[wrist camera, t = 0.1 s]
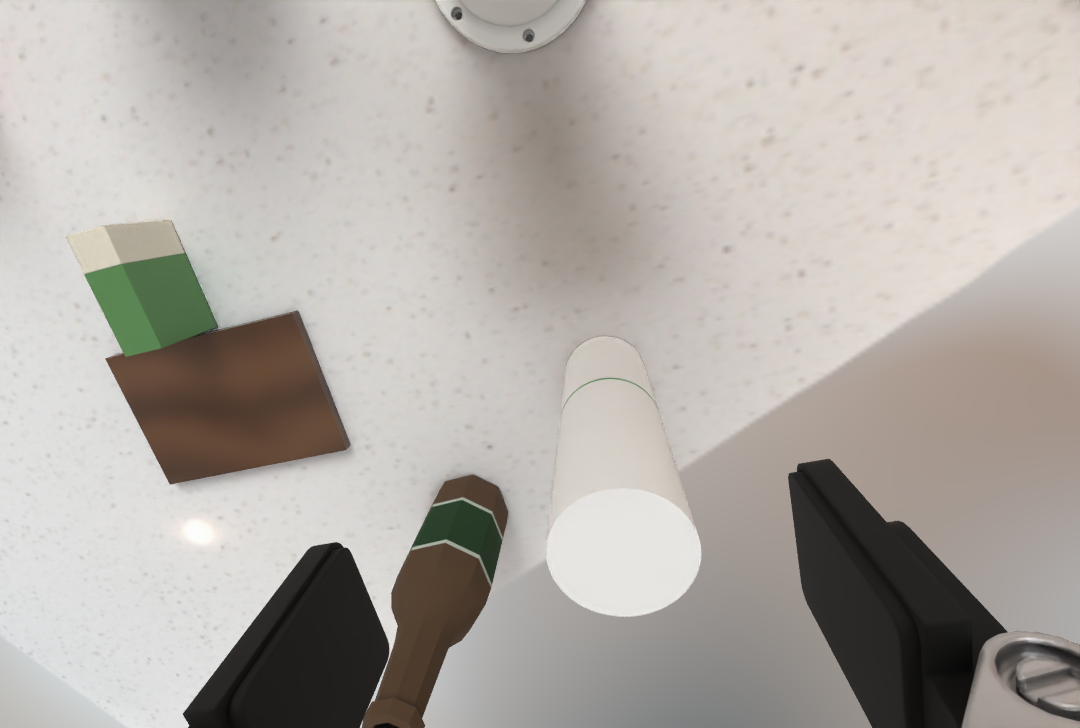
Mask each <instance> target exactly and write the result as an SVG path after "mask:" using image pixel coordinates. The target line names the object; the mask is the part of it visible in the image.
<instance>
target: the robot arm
mask: <svg viewBox="0 0 1080 728" xmlns="http://www.w3.org/2000/svg"><path fill="white" fill-rule="evenodd" d="M435 1H436V3H437V5H438V7H439V8H440V10H441V12H442V13H443V15H444V16H445V17H446V19H447V20H448V21H449V22H450V23H451V24H452V26H453V27H454V28H455V29H456V30H457V31H458V32H459V33H460V34H461V35H463V36H464V37H465V38H467V39H468V40H470V41H471V42H473V43H474V44H476V45H478V46H481V47H483V48H485V49H488V50H490V51H496V52H501V53H522V52H526V51H530V50H534V49H537V48H539V47H541V46H544V45H546V44H548V43H550V42H551V41H553V40H554V39H555V38H557V37H558V36H559V35H561V34H562V33H563V32H564V31H565V30H566V29H567V28H568V27H569V26H570V25H571V24H572V23H573V21H574V20H575V19H576V18H577V16H578V15H579V13H580V11H581V10H582V8H583V7H584V5H585V3H586V1H587V0H435ZM459 13H461V14H462V18H461V19H460V20H457V19H456V16H457V14H459ZM528 35H532V36H533V39H532V41H530V42H528V41H527V40H526V38H527V36H528ZM788 479H789V488H790V496H791V504H792V512H793V520H794V528H795V537H796V544H797V553H798V561H799V569H800V576H801V584H802V589H803V593H804V596H805V599H806V601H807V604H808V606H809V608H810V610H811V611H812V614H813V616H814V618H815V619H816V621H817V623H818V625H819V627H820V629H821V631H822V633H823V635H824V636H825V638H826V640H827V642H828V644H829V646H830V648H831V650H832V652H833V654H834V656H835V657H836V659H837V661H838V663H839V665H840V667H841V669H842V671H843V673H844V674H845V676H846V678H847V680H848V682H849V684H850V686H851V688H852V690H853V691H854V693H855V695H856V697H857V699H858V701H859V703H860V705H861V707H862V709H863V711H864V712H865V714H866V716H867V718H868V720H869V722H870V724H871V726H872V728H1080V645H1079V644H1077V643H1074V642H1071V641H1069V640H1066V639H1064V638H1061V637H1057V636H1053V635H1048V634H1043V633H1039V632H1027V631H1013V632H1007V631H1006V630H1005V629H1004V628H1003V626H1002V625H1001V624H1000V623H999V622H998V621H997V620H996V619H995V618H994V617H993V616H992V615H991V614H990V613H989V612H988V611H987V609H985V608H984V606H983V605H982V604H981V603H980V602H979V601H978V600H977V599H976V598H975V597H974V596H973V595H972V594H971V593H970V591H969V590H967V588H966V587H965V586H964V585H963V584H962V583H961V582H960V581H959V580H958V579H957V578H956V577H955V575H954V574H953V573H952V572H951V571H950V570H949V569H948V568H947V567H946V566H945V565H944V564H943V563H942V562H941V561H940V560H939V558H938V557H937V556H936V555H935V554H934V553H933V552H932V551H931V550H930V549H929V548H928V547H927V546H926V545H925V544H924V543H923V541H922V540H921V539H920V538H919V537H918V536H917V535H916V534H915V533H914V532H913V531H912V530H911V529H910V528H909V527H908V526H907V525H906V524H904V523H903V522H900V521H894V522H886V521H885V520H884V519H883V518H882V517H881V515H880V514H879V513H878V512H877V511H876V510H875V509H874V508H873V506H872V505H871V504H870V503H869V502H868V501H867V500H866V499H865V497H864V496H863V495H862V494H861V493H860V492H859V491H858V490H857V488H856V487H855V486H854V485H853V484H852V483H851V482H850V481H849V479H848V478H847V477H846V476H845V475H844V474H843V473H842V471H841V470H840V469H839V468H838V467H837V466H836V465H835V464H834V463H833V461H831V460H830V459H825V460H819V461H813V462H807V463H801V464H798V466H797V472H794V473H790V474H789V476H788ZM388 657H389V643H388V639H387V637H386V635H385V632H384V630H383V627H382V625H381V623H380V620H379V618H378V616H377V613H376V611H375V608H374V606H373V604H372V601H371V599H370V597H369V594H368V592H367V589H366V587H365V585H364V582H363V580H362V577H361V575H360V573H359V570H358V568H357V566H356V563H355V561H354V558H353V556H352V554H351V552H350V550H349V549H348V548H343V546H342V545H341V544H340V543H337V542H335V543H329V544H323V545H317V546H313V547H311V548H309V549H308V550H307V552H306V553H305V554H304V556H303V557H302V558H301V560H300V561H299V562H298V564H297V565H296V566H295V567H294V569H293V570H292V571H291V573H290V574H289V575H288V577H287V578H286V579H285V581H284V582H283V583H282V585H281V586H280V587H279V588H278V590H277V591H276V592H275V594H274V595H273V596H272V598H271V599H270V600H269V602H268V603H267V604H266V606H265V607H264V608H263V609H262V611H261V612H260V613H259V615H258V616H257V617H256V619H255V620H254V621H253V623H252V624H251V625H250V626H249V628H248V629H247V630H246V632H245V633H244V634H243V636H242V637H241V638H240V640H239V641H238V642H237V644H236V645H235V646H234V647H233V649H232V650H231V651H230V653H229V654H228V655H227V657H226V658H225V659H224V661H223V662H222V663H221V665H220V666H219V667H218V668H217V670H216V671H215V672H214V674H213V675H212V676H211V678H210V679H209V680H208V682H207V683H206V684H205V686H204V687H203V688H202V689H201V691H200V692H199V693H198V695H197V696H196V697H195V699H194V700H193V701H192V703H191V704H190V705H189V707H188V708H187V709H186V710H185V712H184V713H183V715H184V717H185V719H186V721H187V722H188V724H189V727H188V728H360V725H361V723H362V720H363V718H364V716H365V713H366V711H367V708H368V706H369V704H370V701H371V699H372V696H373V694H374V691H375V689H376V687H377V684H378V682H379V679H380V677H381V675H382V673H383V670H384V668H385V665H386V663H387V660H388Z"/></svg>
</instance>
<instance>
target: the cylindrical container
mask: <svg viewBox="0 0 1080 728" xmlns="http://www.w3.org/2000/svg"><path fill="white" fill-rule="evenodd" d="M546 558H547V564H548V568H549V570H550V572H551V575H552V578H553V579H554V580H555V582H556V583H557V585H558V586H559V588H560V589H561V590H562V591H563V592H564V593H565V594H566V595H567V596H568V597H569V598H570V599H572V600H573V601H575V602H576V603H578V604H579V605H581V606H582V607H585V608H587V609H590V610H592V611H594V612H597V613H601V614H605V615H610V616H620V617H628V616H639V615H644V614H649V613H652V612H655V611H657V610H660V609H663V608H665V607H666V606H668V605H670V604H671V603H673V602H675V601H676V600H677V599H678V598H679V597H681V596H682V595H683V594H684V593H685V592H686V591H687V590H688V588H689V587H690V586H691V584H692V583H693V581H694V580H695V577H696V575H697V573H698V570H699V567H700V561H701V544H700V540H699V537H698V534H697V530H696V527H695V524H694V521H693V518H692V515H691V511H690V508H689V505H688V502H687V499H686V496H685V493H684V489H683V486H682V483H681V480H680V477H679V474H678V470H677V467H676V464H675V461H674V458H673V455H672V451H671V448H670V445H669V442H668V439H667V436H666V433H665V429H664V426H663V423H662V420H661V417H660V414H659V411H658V407H657V404H656V401H655V398H654V395H653V392H652V389H651V386H650V382H649V379H648V376H647V373H646V370H645V367H644V364H643V361H642V358H641V357H640V355H639V353H638V352H637V351H636V349H635V348H634V347H633V346H632V345H630V344H629V343H627V342H626V341H624V340H622V339H619V338H615V337H610V336H601V337H595V338H592V339H589V340H587V341H585V342H583V343H582V344H581V345H579V346H578V347H577V348H576V349H575V350H574V351H573V353H572V354H571V356H570V358H569V360H568V362H567V366H566V371H565V380H564V389H563V398H562V407H561V416H560V425H559V434H558V443H557V452H556V461H555V471H554V480H553V489H552V498H551V507H550V516H549V525H548V534H547V543H546Z"/></svg>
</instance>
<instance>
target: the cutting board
mask: <svg viewBox="0 0 1080 728" xmlns="http://www.w3.org/2000/svg"><path fill="white" fill-rule="evenodd" d="M106 361H107V363H108V365H109V367H110V369H111V371H112V373H113V375H114V377H115V379H116V381H117V382H118V384H119V386H120V388H121V390H122V392H123V394H124V396H125V398H126V400H127V402H128V404H129V406H130V408H131V410H132V412H133V414H134V416H135V417H136V419H137V421H138V423H139V425H140V427H141V429H142V431H143V433H144V435H145V437H146V439H147V441H148V443H149V445H150V447H151V449H152V451H153V452H154V454H155V456H156V458H157V460H158V462H159V464H160V466H161V468H162V470H163V472H164V474H165V476H166V478H167V480H168V482H169V484H175V483H180V482H185V481H190V480H195V479H200V478H205V477H210V476H216V475H221V474H226V473H231V472H236V471H241V470H246V469H251V468H256V467H261V466H266V465H272V464H277V463H282V462H287V461H292V460H297V459H302V458H307V457H312V456H317V455H322V454H327V453H333V452H338V451H343V450H347V448H348V447H349V446H350V443H349V440H348V438H347V435H346V432H345V430H344V427H343V425H342V422H341V420H340V417H339V415H338V412H337V409H336V407H335V404H334V402H333V399H332V397H331V394H330V392H329V389H328V386H327V384H326V381H325V379H324V376H323V374H322V371H321V368H320V366H319V363H318V361H317V358H316V356H315V353H314V351H313V348H312V345H311V343H310V340H309V338H308V335H307V333H306V330H305V327H304V325H303V322H302V320H301V317H300V315H299V312H298V311H294V312H290V313H286V314H282V315H278V316H274V317H270V318H266V319H261V320H257V321H253V322H249V323H245V324H241V325H237V326H233V327H229V328H225V329H220V330H216V331H212V332H208V333H204V334H200V335H196V336H192V337H190V338H187V339H185V340H182V341H179V342H177V343H174V344H172V345H169V346H167V347H164V348H161V349H157V350H153V351H149V352H145V353H140V354H136V355H132V356H128V357H125V355H124V353H122V354H118V355H114V356H111V357H108V358H106Z"/></svg>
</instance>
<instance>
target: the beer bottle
mask: <svg viewBox="0 0 1080 728" xmlns="http://www.w3.org/2000/svg"><path fill="white" fill-rule="evenodd" d="M507 516H508V511H507V509H506V506H505V504H504V501H503V498H502V496H501V493H500V491H499V488H498V487H497V486H495V485H493V484H491V483H489V482H487V481H485V480H483V479H480V478H478V477H476V476H474V475H470V476H466V477H462V478H458V479H454V480H450V481H446V482H445V483H444V484H443V486H442V488H441V489H440V491H439V493H438V495H437V497H436V499H435V501H434V503H433V505H432V507H431V508H430V510H429V512H428V514H427V516H426V518H425V520H424V523H423V525H422V527H421V529H420V531H419V533H418V535H417V537H416V539H415V541H414V543H413V545H412V547H411V549H410V552H409V554H408V556H407V558H406V560H405V562H404V564H403V566H402V568H401V570H400V572H399V574H398V576H397V579H396V582H395V585H394V587H393V590H392V611H393V614H394V616H395V619H396V622H397V625H398V628H397V633H396V638H395V643H394V646H393V649H392V652H391V655H390V658H389V661H388V664H387V667H386V670H385V673H384V676H383V679H382V682H381V685H380V688H379V691H378V693H377V696H376V699H375V701H374V702H372V703H371V704H370V706H369V708H368V710H367V712H366V713H365V716H364V718H363V725H362V728H424V727H425V724H424V722H423V720H422V717H423V714H424V712H425V709H426V706H427V704H428V701H429V698H430V696H431V693H432V690H433V688H434V685H435V682H436V680H437V677H438V674H439V671H440V669H441V666H442V664H443V661H444V658H445V656H446V653H447V650H448V648H449V647H451V646H453V645H454V644H456V643H458V642H460V641H461V640H462V639H463V638H464V637H465V635H466V634H467V633H468V632H469V630H470V629H471V627H472V625H473V624H474V622H475V621H476V619H477V617H478V616H479V614H480V613H481V611H482V609H483V608H484V606H485V604H486V601H487V599H488V596H489V593H490V590H491V586H492V582H493V578H494V574H495V570H496V565H497V561H498V557H499V553H500V548H501V544H502V540H503V536H504V531H505V527H506V523H507Z"/></svg>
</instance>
